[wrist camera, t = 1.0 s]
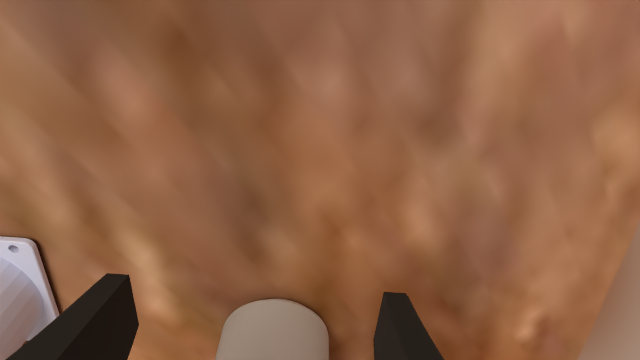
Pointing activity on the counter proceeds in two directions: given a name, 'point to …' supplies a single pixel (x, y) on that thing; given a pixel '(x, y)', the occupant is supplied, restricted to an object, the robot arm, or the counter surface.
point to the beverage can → (273, 333)
